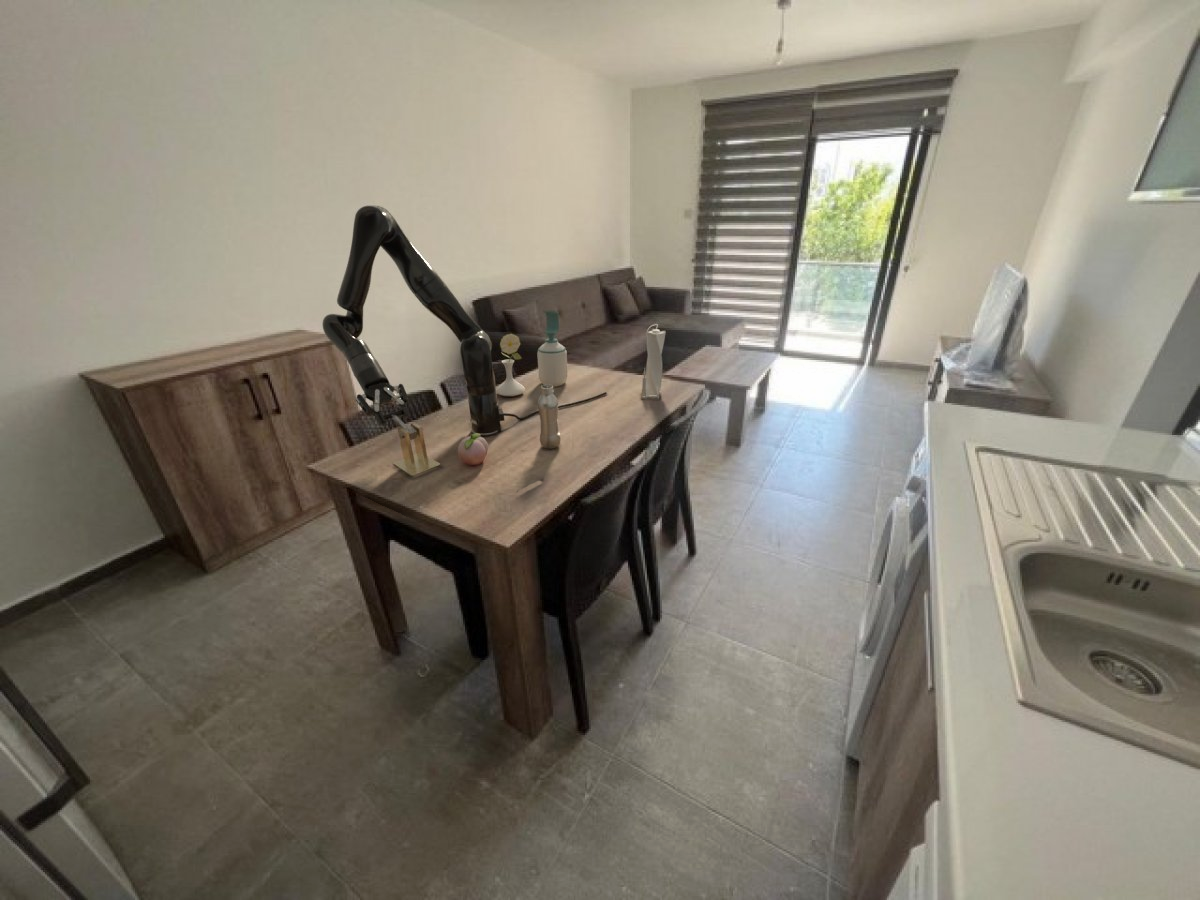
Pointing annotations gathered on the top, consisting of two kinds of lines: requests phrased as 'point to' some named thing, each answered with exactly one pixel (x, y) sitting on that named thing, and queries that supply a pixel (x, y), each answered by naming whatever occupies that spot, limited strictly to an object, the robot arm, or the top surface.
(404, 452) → the bracket
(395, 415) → the lever
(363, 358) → the robot arm
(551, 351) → the soap bottle
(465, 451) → the decorative fruit
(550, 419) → the plastic bottle
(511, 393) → the flower in vase
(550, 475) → the top surface
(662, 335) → the skyscraper
